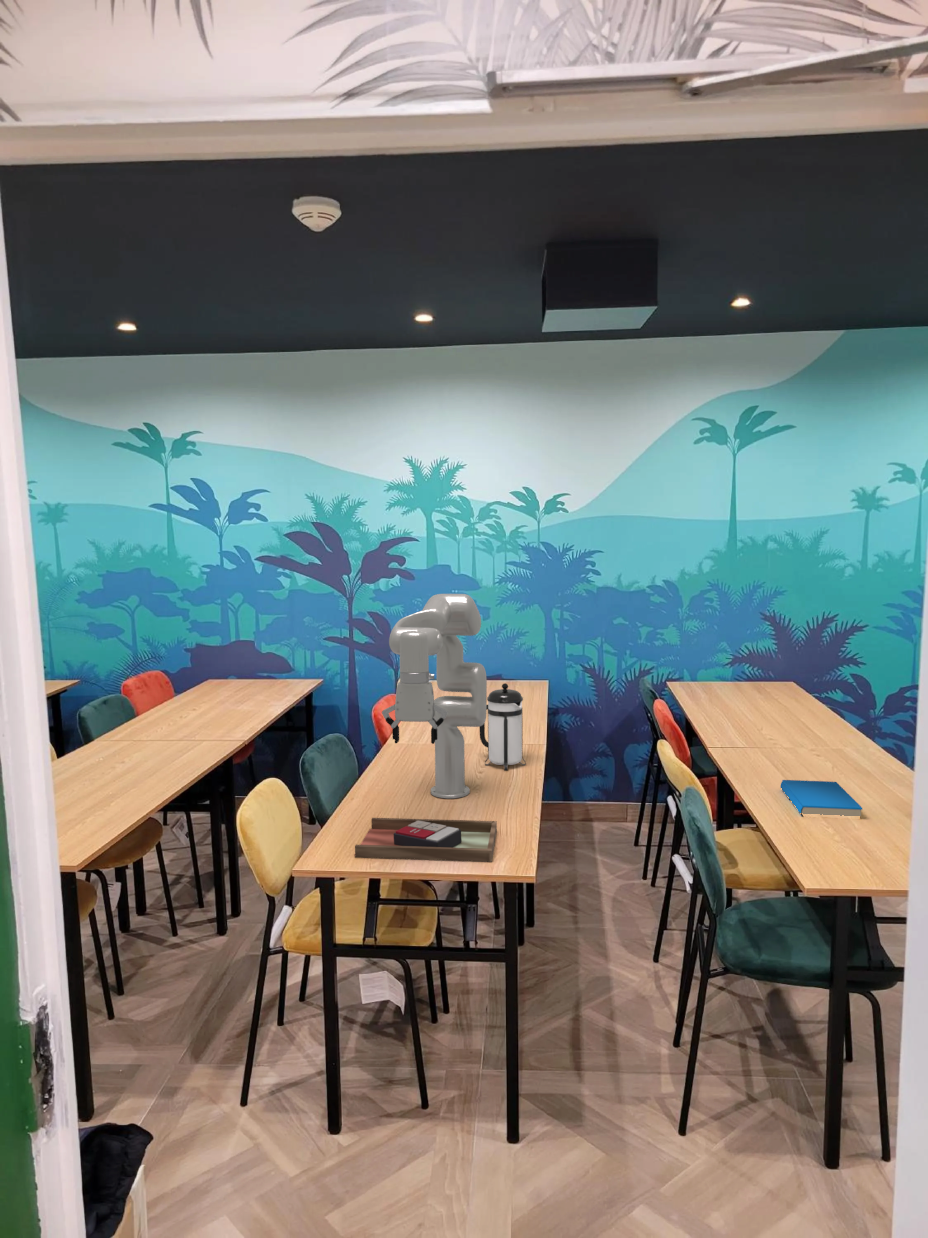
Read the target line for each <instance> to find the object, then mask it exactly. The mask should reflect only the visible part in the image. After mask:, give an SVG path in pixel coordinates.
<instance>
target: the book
mask: <svg viewBox="0 0 928 1238" xmlns="http://www.w3.org/2000/svg"><path fill="white" fill-rule="evenodd" d="M781 788H782V790H783V791H784V792H785V794H786V795H787V796H788V797H789V799H790V800H791V801H792V803H793V804H794V805H795V806H796V808H797V809H798V811H799V812H800V813H803V814H820V815H822V814H823V815H840V816H842V815H844V816H861V817H862V810H863V807H862V806H861V805H860V804H859V803H858V802H857V801H856V800H855V798H853V797H852V796H851V795H850V794H849V793H848V792H847V791H846V790H845V789H844V787H842V786H841V785H840V784H839V783H838V782H837V781H823V780H822V781H821V780H798V779H797V780H796V779H782V781H781V783H780V789H781ZM782 790H781V791H782ZM783 791H782V792H783ZM784 792H783V793H784ZM785 794H784V795H785ZM786 795H785V796H786ZM787 796H786V797H787ZM789 799H788V800H789ZM790 800H789V801H790ZM792 803H791V804H792ZM793 804H792V805H793ZM796 808H795V809H796ZM797 809H796V810H797ZM798 811H797V812H798ZM799 812H798V813H799ZM800 813H799V814H800Z"/></svg>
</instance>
